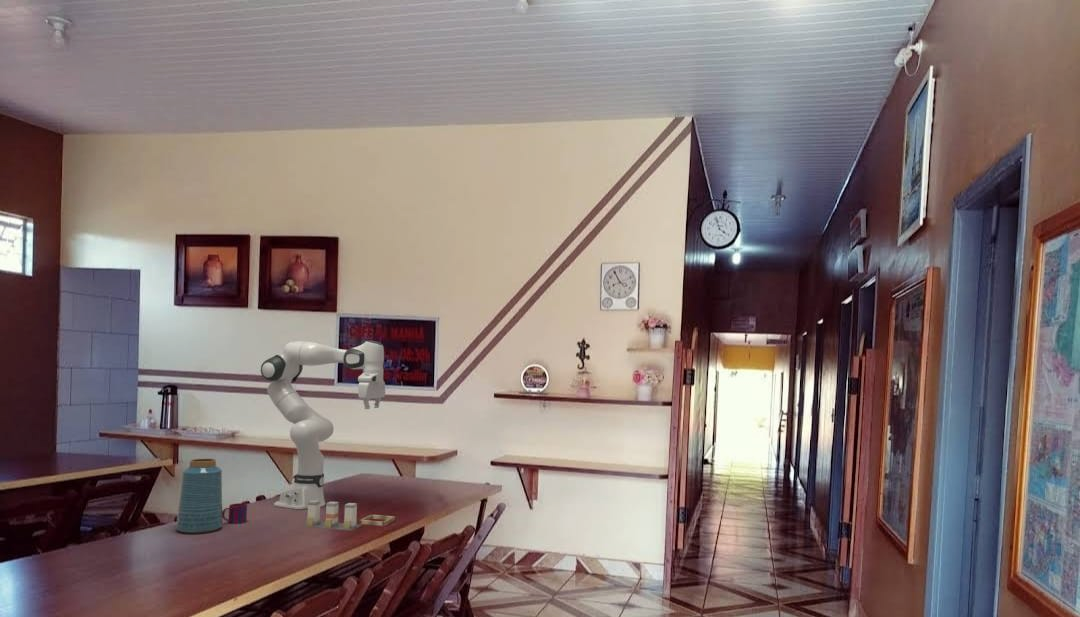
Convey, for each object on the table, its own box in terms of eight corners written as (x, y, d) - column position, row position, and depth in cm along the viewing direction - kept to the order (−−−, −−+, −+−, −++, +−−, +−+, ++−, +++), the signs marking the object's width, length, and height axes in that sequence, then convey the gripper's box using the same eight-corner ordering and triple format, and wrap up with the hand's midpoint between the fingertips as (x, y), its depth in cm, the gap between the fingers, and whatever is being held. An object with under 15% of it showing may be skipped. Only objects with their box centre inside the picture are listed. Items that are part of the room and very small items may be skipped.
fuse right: (344, 527, 285) (344, 504, 286) (348, 525, 288) (349, 502, 289) (351, 528, 284) (352, 505, 285) (356, 526, 288) (356, 503, 288)
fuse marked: (325, 526, 287) (326, 503, 288) (329, 524, 290) (330, 501, 291) (333, 526, 286) (334, 503, 287) (337, 524, 290) (338, 502, 290)
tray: (358, 526, 293) (359, 520, 293) (371, 520, 303) (371, 514, 303) (384, 528, 290) (384, 522, 290) (395, 522, 301) (395, 516, 301)
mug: (249, 522, 296) (250, 505, 297) (225, 525, 289) (226, 508, 289) (241, 519, 301) (242, 502, 301) (217, 523, 293) (218, 505, 294)
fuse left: (307, 524, 289) (308, 501, 289) (311, 522, 292) (312, 500, 293) (314, 525, 288) (315, 502, 289) (319, 523, 291) (320, 500, 292)
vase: (177, 526, 286) (181, 457, 288) (222, 523, 293) (225, 456, 295) (174, 535, 271) (178, 463, 273) (222, 532, 278) (225, 462, 280)
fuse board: (299, 529, 286) (300, 518, 286) (313, 523, 295) (313, 513, 296) (350, 533, 281) (351, 522, 281) (362, 527, 291) (363, 517, 291)
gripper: (376, 376, 334) (375, 406, 333) (356, 377, 314) (354, 409, 313) (389, 376, 333) (388, 407, 332) (369, 378, 313) (368, 410, 312)
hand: (371, 408), depth 322 cm, fingers open, 8 cm apart
